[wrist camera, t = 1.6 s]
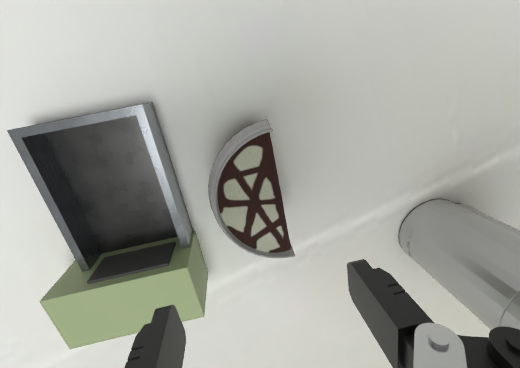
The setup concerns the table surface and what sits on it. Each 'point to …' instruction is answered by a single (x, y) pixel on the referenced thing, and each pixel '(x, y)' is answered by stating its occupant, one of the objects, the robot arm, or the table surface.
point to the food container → (250, 194)
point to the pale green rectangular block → (127, 291)
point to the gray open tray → (106, 180)
